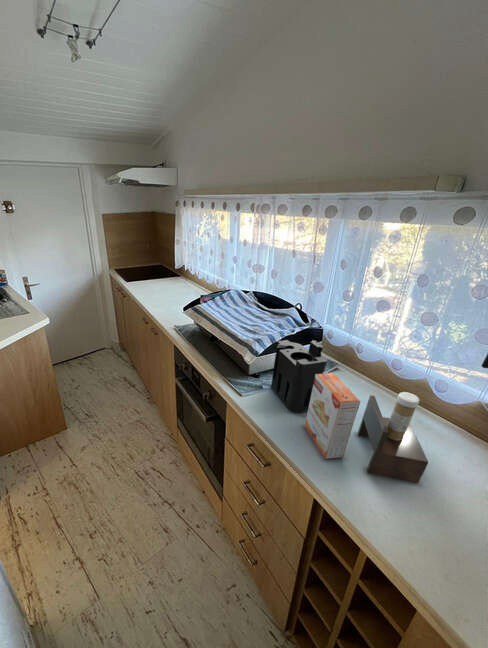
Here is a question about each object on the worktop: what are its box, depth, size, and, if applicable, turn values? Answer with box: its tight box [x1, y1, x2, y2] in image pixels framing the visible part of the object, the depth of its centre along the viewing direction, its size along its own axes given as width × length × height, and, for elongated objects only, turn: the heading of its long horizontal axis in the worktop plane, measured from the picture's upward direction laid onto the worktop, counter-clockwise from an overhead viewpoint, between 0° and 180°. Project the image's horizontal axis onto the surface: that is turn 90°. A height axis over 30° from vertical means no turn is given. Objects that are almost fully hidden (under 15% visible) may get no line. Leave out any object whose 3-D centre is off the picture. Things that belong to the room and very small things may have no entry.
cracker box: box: [304, 372, 361, 460], centre depth 89 cm, size 14×6×21 cm, turn 5°
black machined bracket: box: [270, 339, 329, 413], centre depth 110 cm, size 12×21×22 cm, turn 13°
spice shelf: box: [357, 395, 429, 484], centre depth 85 cm, size 12×16×15 cm
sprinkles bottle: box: [387, 391, 420, 441], centre depth 82 cm, size 5×5×14 cm
